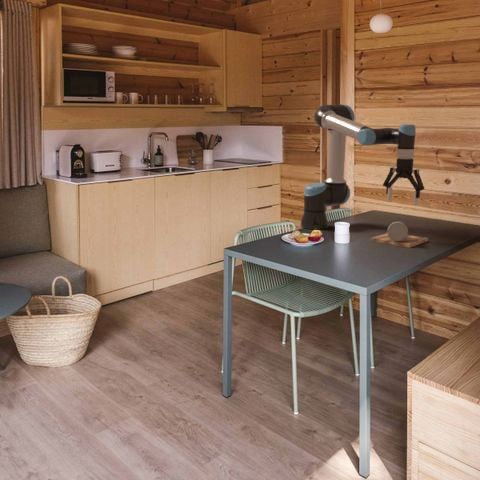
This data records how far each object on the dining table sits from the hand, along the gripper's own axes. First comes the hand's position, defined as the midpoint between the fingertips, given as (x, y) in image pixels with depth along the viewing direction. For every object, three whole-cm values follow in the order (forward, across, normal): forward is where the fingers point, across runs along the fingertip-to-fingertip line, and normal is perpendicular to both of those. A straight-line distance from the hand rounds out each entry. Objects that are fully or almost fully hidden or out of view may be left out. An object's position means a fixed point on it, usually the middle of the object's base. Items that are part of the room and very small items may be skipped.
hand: (402, 203), depth 264 cm
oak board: (+18, -1, +1) cm, 18 cm away
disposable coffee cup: (+14, +1, -2) cm, 14 cm away
